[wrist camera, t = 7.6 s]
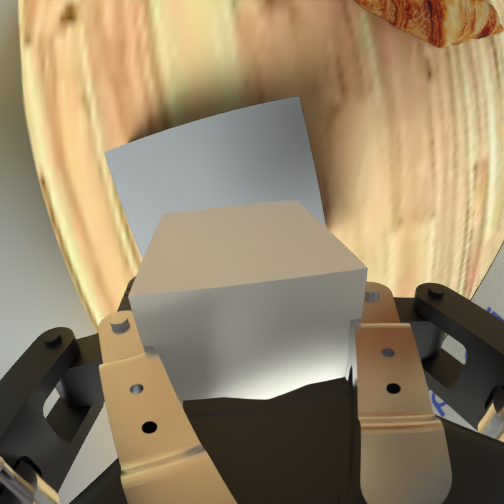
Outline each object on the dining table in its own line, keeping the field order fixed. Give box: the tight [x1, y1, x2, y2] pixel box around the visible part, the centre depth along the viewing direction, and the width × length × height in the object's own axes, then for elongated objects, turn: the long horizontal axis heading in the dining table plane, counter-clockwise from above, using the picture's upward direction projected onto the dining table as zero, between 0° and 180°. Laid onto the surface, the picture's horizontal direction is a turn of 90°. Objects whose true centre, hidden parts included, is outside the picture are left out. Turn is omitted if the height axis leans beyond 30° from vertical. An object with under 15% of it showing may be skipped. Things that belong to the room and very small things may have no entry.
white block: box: [128, 200, 368, 408], centre depth 10 cm, size 5×5×6 cm
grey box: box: [104, 96, 326, 259], centre depth 23 cm, size 12×12×6 cm
